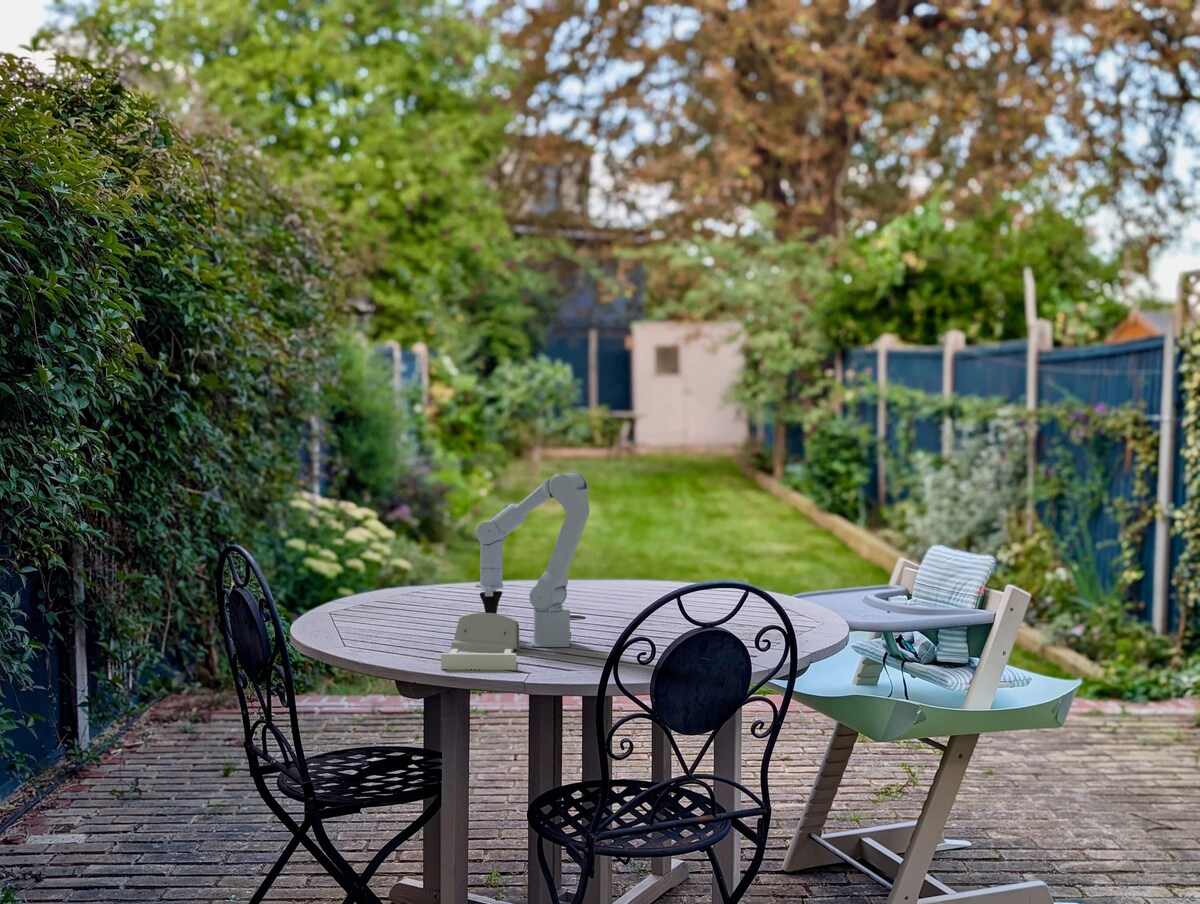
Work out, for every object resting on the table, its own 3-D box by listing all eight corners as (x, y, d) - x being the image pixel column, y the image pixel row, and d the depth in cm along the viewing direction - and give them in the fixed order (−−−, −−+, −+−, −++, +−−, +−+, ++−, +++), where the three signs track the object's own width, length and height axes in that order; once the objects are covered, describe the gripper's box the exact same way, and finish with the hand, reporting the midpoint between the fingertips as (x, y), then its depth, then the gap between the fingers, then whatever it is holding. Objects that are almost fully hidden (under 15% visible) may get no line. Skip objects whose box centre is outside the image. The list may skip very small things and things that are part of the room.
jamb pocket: (517, 661, 265) (517, 647, 265) (515, 670, 257) (515, 654, 256) (445, 661, 265) (445, 646, 265) (440, 669, 256) (441, 654, 256)
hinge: (449, 649, 278) (454, 609, 281) (456, 652, 282) (461, 613, 285) (513, 654, 274) (518, 613, 277) (519, 656, 278) (524, 616, 281)
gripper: (478, 563, 299) (478, 614, 299) (473, 571, 284) (472, 624, 285) (505, 564, 299) (504, 615, 299) (501, 571, 284) (500, 625, 285)
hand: (490, 619), depth 292 cm, fingers closed
